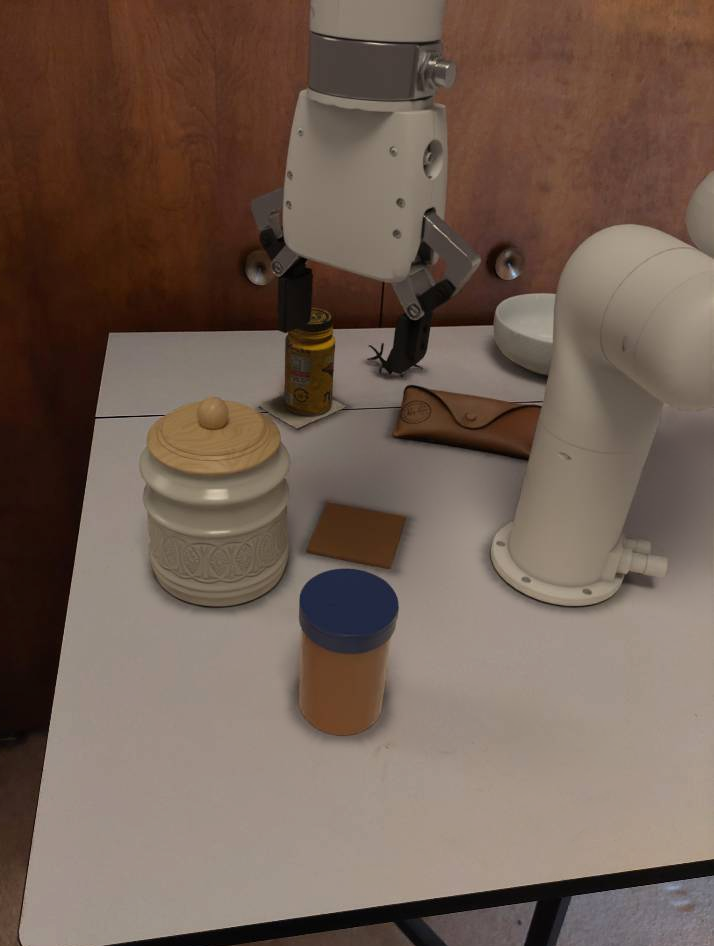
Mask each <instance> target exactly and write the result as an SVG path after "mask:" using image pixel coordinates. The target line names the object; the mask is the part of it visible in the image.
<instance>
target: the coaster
mask: <svg viewBox="0 0 714 946" xmlns="http://www.w3.org/2000/svg"><path fill="white" fill-rule="evenodd" d="M406 520H407V516H405V515H400V514H395V513H389V512H384V511H379V510H374V509H370V508H369V509H368V508H363V507H359V506H358V507H357V506H353V505H349V504H347V505H346V504H343V503H337V502H331V501H327V502H326V505H325V507H324V509H323V511H322V513H321V515H320V518H319V520H318V522H317V525H316V527H315V529H314V531H313V534H312V536H311V538H310V540H309V543H308V544H307V546H306V549H305V552H306V553H308V554H314V555H318V556H322V557H328V558H332V559H337V560H343V561H348V562H353V563H357V564H362V565H367V566H373V567H378V568H383V569H387V570H391V568H392V566H393V561H394V558H395V556H396V551H397V548H398V545H399V542H400V539H401V536H402V532H403V530H404V526H405V523H406Z"/></svg>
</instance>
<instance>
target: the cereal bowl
mask: <svg viewBox="0 0 714 946" xmlns="http://www.w3.org/2000/svg"><path fill="white" fill-rule="evenodd" d="M555 297H556V293H549V292H548V293H545V292H541V293H539V292H538V293H525V294H519V295H513V296H511V297H508V298H506V299H504V300H502V301H500V302H499V304H498V305H497V306H496V309H495V311H494V316H493V336H494V341H495V342H496V345H497V346H498V347H497V348H498V349H499V350H500V351H501V352H502V353H503V355H504V356H505V357H506V358H508V359H509V360H510V361H512V362H513V363H515V364H516V365H519V366H521V367H523V368H524V369H526V370H527V371H529V372H532V373H534V374H537V375H541V376H547V377H548V375H549V370H550V364H551V356H552V344H553V319H554V305H555Z"/></svg>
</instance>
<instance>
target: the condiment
mask: <svg viewBox="0 0 714 946" xmlns="http://www.w3.org/2000/svg"><path fill="white" fill-rule="evenodd" d="M333 334H334V316H333V315H332V314H331V313H330V312H329V311H328V310H324V309H323V308H322V309H321V308H317V307H311V319H310V321H309V322H308V323H306V324H304V325H302V326H300V327H298V328H296V329H294V330H292V331H290V332H288V333H286V336H285V341H284V390H283V392H284V393H283V394H282V395H279V396H276V397H275V398H272V399H270V400H268V401H263V402H261V403H259V404H257V406H258V407H260V408H261V409H262V410H264V411H265V412H267V413H269V414H270V415H272V416H274V417H276V418H277V419H279V421H283V422H285V423H286V424H288V425H289V426H291V427H293V428H296V429H300V428H302V427H304V426H307V425H309V424H311V423H313V422H315V421H317V420H320V419H323V418H326V417H327V416H329V415H332V414H334V413H336V412H338V411H341V410H342V409H345V407H346V405H344V404H342V403H341V402H338V400H335V399H333V389H334V371H335V369H334V368H335V352H336V338H335V336H334V335H333Z"/></svg>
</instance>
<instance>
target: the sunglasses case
mask: <svg viewBox="0 0 714 946" xmlns="http://www.w3.org/2000/svg"><path fill="white" fill-rule="evenodd" d="M541 407H542V404H541V405H540V404H533V403H517V402H513V401H507V400H501V399H497V398H492V397H491V398H490V397H486V396H479V395H473V394H467V393H458V392H453V391H446V390H439V389H431V388H428V387H425V386H421V385H415V384H408V385H405V387H404V389H403V392H402V401H401V405H400V409H399V410H398V414H397V418H396V422H395V424H394V428H393V431H392V433H391V434H392V436H393V437H394V438H401V439H412V440H418V441H419V440H421V441H426V442H431V443H435V444H440V445H446V446H451V447H459V448H464V449H469V450H474V451H479V452H483V453H489V454H494V455H500V456H501V455H502V456H508V457H514V458H522V459H524V458H525V459H529V457H530V453H531V448H532V444H533V440H534V436H535V432H536V427H537V423H538V419H539V415H540V412H541Z"/></svg>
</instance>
